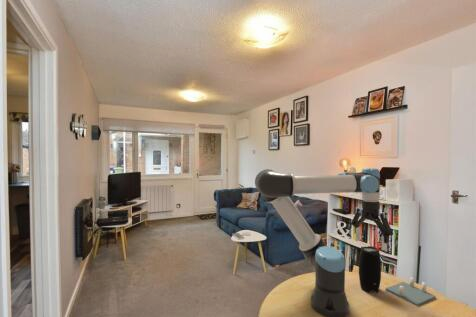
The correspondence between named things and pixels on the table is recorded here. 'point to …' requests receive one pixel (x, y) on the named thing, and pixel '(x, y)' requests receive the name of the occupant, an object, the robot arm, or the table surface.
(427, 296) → the pin pad
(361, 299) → the table surface
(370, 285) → the portable speaker
